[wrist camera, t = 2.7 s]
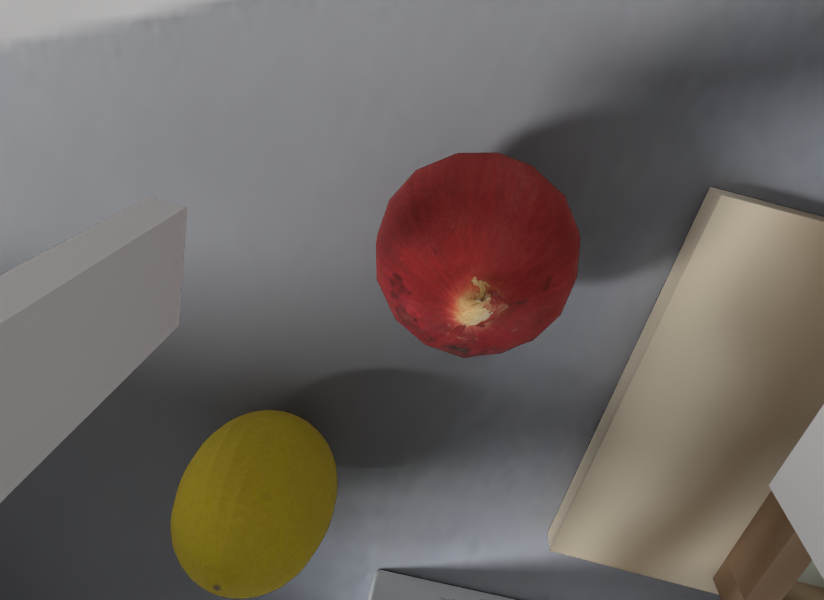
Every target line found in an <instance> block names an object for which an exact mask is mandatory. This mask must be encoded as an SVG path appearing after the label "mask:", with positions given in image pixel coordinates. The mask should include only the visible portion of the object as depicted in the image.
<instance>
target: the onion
mask: <svg viewBox="0 0 824 600" xmlns="http://www.w3.org/2000/svg"><path fill="white" fill-rule="evenodd" d="M579 249H580V235H579V230H578V227H577V225H576V223H575V220H574V218H573V215H572V213H571V210H570V208H569V205H568V203H567V200H566V198H565V196H564V195H563V194H562V193H561V192H560V191H559V190H558V189H556V188H555V187H554V186H553V185H552V184H551V183H550V182H549V181H548V180H547V179H546V178H545V177H544V176H543V175H542V174H541V173H539V172H538V171H537V170H536V169H535V168H534V167H533V166H532V165H529V164H527V163H524V162H521V161H518V160H516V159H513V158H510V157H508V156H505V155H502V154H500V153H457V154H454V155H452V156H449V157H447V158H444V159H442V160H439V161H437V162H435V163H432V164H430V165H427V166H425V167H423V168H420V169H418V170H416V171H415V172H414V173H413V174H412V175H411V176H410V178H409V179H408V180H407V181H406V182H405V183H404V184H403V185H402V187H401V188H400V189H399V190H398V191H397V192H396V193H395V194H394V196H393V197H392V198H391V199H390V200H389V203H388V206H387V209H386V212H385V214H384V217H383V220H382V223H381V226H380V229H379V232H378V235H377V242H376V265H377V281H378V283H379V285H380V287H381V290H382V292H383V294H384V296H385V298H386V300H387V303H388V305H389V307H390V309H391V311H392V313H393V315H394V317H395V319H396V320H397V321H398V322H400V323H401V324H402V325H403V326H404V327H405V328H406V329H408V330H409V331H410V332H411V333H412V334H413V335H414V336H416V337H417V338H418V339H419V340H420V341H421V342H422V343H424V344H425V345H428V346H430V347H433V348H436V349H439V350H442V351H445V352H448V353H450V354H453V355H456V356H459V357H462V358H467V357H473V356H480V355H490V354H499V353H503V352H505V351H508V350H510V349H512V348H514V347H517V346H519V345H521V344H524V343H527V342H530V341H532V340H534V339H535V338H536V337H537V336H538V335H539V334H540V333H542V332H543V331H544V330H545V329H546V328H547V327H548V326H549V325H550V324H551V323H552V322H553V321H554V320H556V319H557V318H558V317H559V316H560V315H561V313H562V310H563V308H564V306H565V303H566V301H567V299H568V297H569V294H570V292H571V290H572V287H573V285H574V283H575V280H576V278H577V271H578V260H579Z"/></svg>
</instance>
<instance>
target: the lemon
mask: <svg viewBox="0 0 824 600" xmlns="http://www.w3.org/2000/svg"><path fill="white" fill-rule="evenodd" d="M337 487H338V484H337V472H336V464H335V460H334V457H333V455H332V452H331V450H330V447H329V445H328V443H327V442H326V440H325V439H324V438H323V436H322V435H321V434H320V432H319V431H318V430H317V429H316V428H315V427H313V426H312V425H311V424H310V423H309V422H307V421H306V420H304V419H302V418H300V417H298V416H296V415H294V414H290V413H287V412H284V411H275V410H262V411H254V412H250V413H247V414H244V415H242V416H239V417H237V418H234V419H232V420H230V421H229V422H227V423H226V424H225V425H223V426H222V427H221V428H219V429H218V430H217V431H215V432H214V433H213V434H212V435H211V436H210V437H208V438H207V439H206V441H205V442H204V443H203V444H202V445H201V447H200V448H199V450H198V451H197V452H196V454H195V455H194V457H193V458H192V460H191V461H190V463H189V464H188V466H187V468H186V470H185V472H184V474H183V476H182V478H181V481H180V484H179V486H178V490H177V493H176V497H175V501H174V505H173V509H172V514H171V524H170V527H171V537H172V545H173V548H174V551H175V553H176V556H177V558H178V561H179V563H180V565H181V566H182V568H183V569H184V570H185V572H186V573H187V574H188V576H189V577H190V578H191V579H192V580H193V581H194V582H195V583H197V584H198V585H199V586H200V587H202V588H204V589H205V590H207V591H209V592H211V593H213V594H216V595H218V596H222V597H227V598H236V599H245V598H251V597H257V596H262V595H264V594H267V593H269V592H272V591H274V590H276V589H279V588H280V587H282V586H283V585H285V584H286V583H288V582H289V581H290V580H291V579H293V578H294V577H295V576H296V575H297V574H298V573H299V572H300V571H301V570H302V569H303V568H304V567H305V566H306V564H307V563H308V562H309V560H310V559H311V557H312V556H313V554H314V552H315V551H316V549H317V548H318V546H319V545H320V543H321V541H322V539H323V538H324V536H325V534H326V532H327V530H328V527H329V524H330V522H331V518H332V515H333V510H334V506H335V502H336V497H337Z"/></svg>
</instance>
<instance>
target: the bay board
mask: <svg viewBox="0 0 824 600" xmlns="http://www.w3.org/2000/svg"><path fill="white" fill-rule="evenodd" d="M823 405H824V217H822V216H818V215H815V214H811V213H807V212H803V211H800V210H796V209H792V208H788V207H784V206H781V205H777V204H773V203H769V202H766V201H762V200H758V199H754V198H751V197H747V196H743V195H739V194H735V193H732V192H728V191H724V190H720V189H717V188H713V187H710V188H709V190H708V192H707V194H706V196H705V199H704V201H703V203H702V205H701V207H700V209H699V211H698V214H697V216H696V218H695V220H694V222H693V224H692V226H691V228H690V231H689V233H688V235H687V237H686V239H685V241H684V243H683V246H682V248H681V250H680V252H679V254H678V256H677V258H676V260H675V263H674V265H673V267H672V269H671V271H670V273H669V275H668V277H667V280H666V282H665V284H664V286H663V288H662V290H661V292H660V295H659V297H658V299H657V301H656V303H655V305H654V307H653V309H652V312H651V314H650V316H649V318H648V320H647V322H646V324H645V326H644V329H643V331H642V333H641V335H640V337H639V339H638V341H637V344H636V346H635V348H634V350H633V352H632V354H631V356H630V358H629V361H628V363H627V365H626V367H625V369H624V371H623V373H622V375H621V378H620V380H619V382H618V384H617V386H616V388H615V390H614V393H613V395H612V397H611V399H610V401H609V403H608V405H607V407H606V410H605V412H604V414H603V416H602V418H601V420H600V422H599V424H598V427H597V429H596V431H595V433H594V435H593V437H592V439H591V442H590V444H589V446H588V448H587V450H586V452H585V454H584V456H583V459H582V461H581V463H580V465H579V467H578V469H577V471H576V473H575V476H574V478H573V480H572V482H571V484H570V486H569V488H568V491H567V493H566V495H565V497H564V499H563V501H562V503H561V505H560V508H559V510H558V512H557V514H556V516H555V518H554V520H553V522H552V525H551V527H550V529H549V531H548V539H549V547H550V551H553V552H557V553H560V554H564V555H568V556H572V557H576V558H580V559H583V560H587V561H591V562H595V563H599V564H603V565H606V566H610V567H614V568H618V569H622V570H626V571H629V572H633V573H637V574H641V575H645V576H649V577H653V578H656V579H660V580H664V581H668V582H672V583H676V584H679V585H683V586H687V587H691V588H695V589H699V590H702V591H706V592H710V593H714V594H718V595H720V598H721V600H824V579H823V578H822V576H821V574H820V573H819V571H818V569H817V567H816V566H815V564H814V562H813V561H812V559H811V557H810V555H809V554H808V552H807V550H806V549H805V547H804V545H803V543H802V542H801V540H800V538H799V537H798V535H797V533H796V531H795V530H794V528H793V526H792V525H791V523H790V521H789V520H788V518H787V516H786V514H785V513H784V511H783V509H782V508H781V506H780V504H779V502H778V501H777V499H776V497H775V496H774V494H773V492H772V490H771V489H770V487H769V484H770V483H771V481H772V480H773V478H774V477H775V475H776V474H777V472H778V471H779V469H780V468H781V467H782V465H783V464H784V462H785V461H786V459H787V458H788V456H789V455H790V453H791V452H792V450H793V449H794V447H795V446H796V444H797V443H798V441H799V440H800V438H801V437H802V436H803V434H804V433H805V431H806V430H807V428H808V427H809V425H810V424H811V422H812V421H813V419H814V418H815V416H816V415H817V413H818V412H819V410H820V409H821V407H822V406H823Z"/></svg>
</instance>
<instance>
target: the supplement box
mask: <svg viewBox="0 0 824 600" xmlns="http://www.w3.org/2000/svg"><path fill="white" fill-rule="evenodd" d="M368 600H515V599H511V598H506V597H502V596H497V595H492V594H488V593H483V592H479V591H474V590H470V589H465V588H461V587H456V586H452V585H447V584H443V583H438V582H434V581H429V580H424V579H420V578H415V577H411V576H406V575H402V574H397V573H393V572H388V571H383V570H377V571H376V572H375V575H374V578H373V581H372V584H371V588H370V592H369V596H368Z"/></svg>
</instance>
